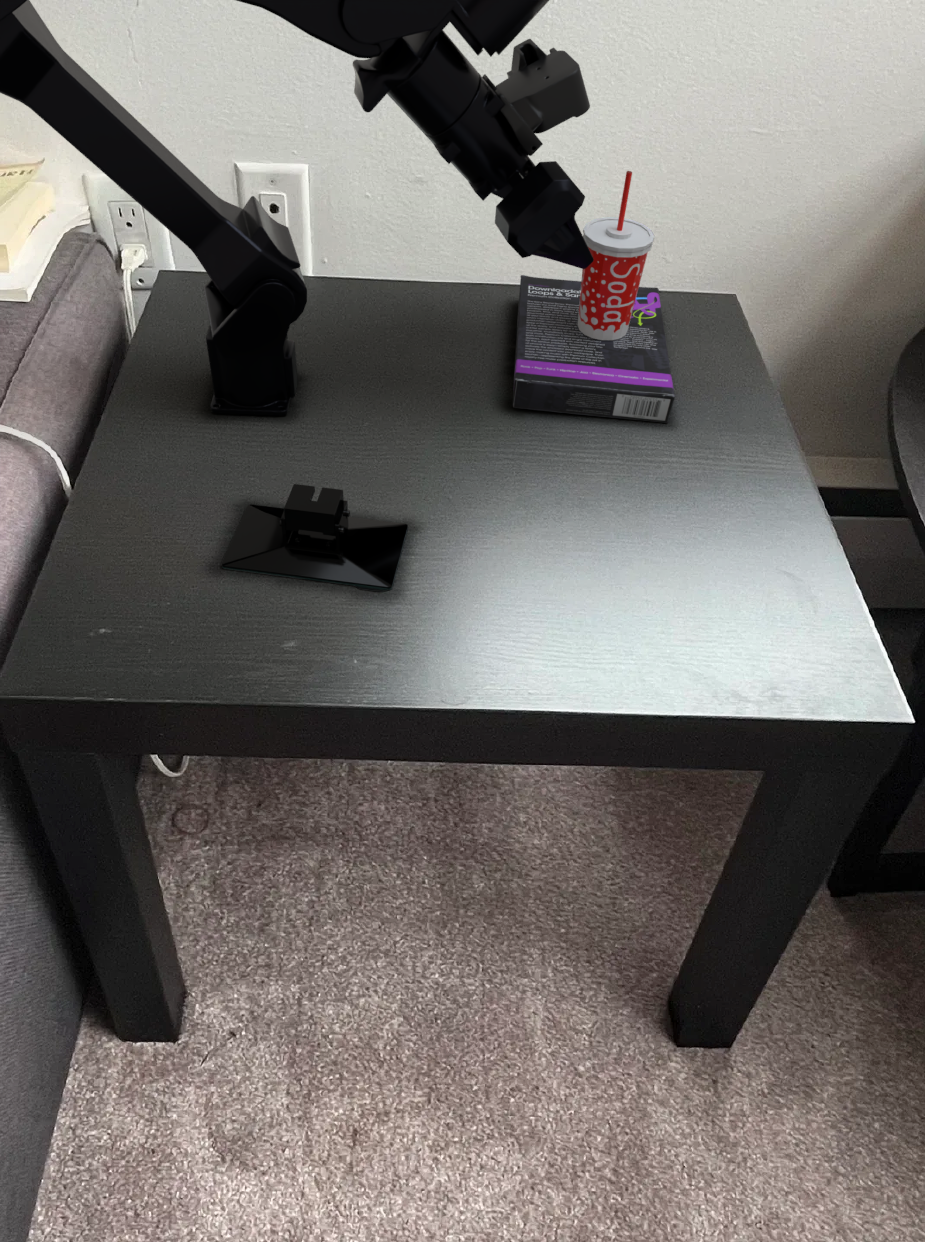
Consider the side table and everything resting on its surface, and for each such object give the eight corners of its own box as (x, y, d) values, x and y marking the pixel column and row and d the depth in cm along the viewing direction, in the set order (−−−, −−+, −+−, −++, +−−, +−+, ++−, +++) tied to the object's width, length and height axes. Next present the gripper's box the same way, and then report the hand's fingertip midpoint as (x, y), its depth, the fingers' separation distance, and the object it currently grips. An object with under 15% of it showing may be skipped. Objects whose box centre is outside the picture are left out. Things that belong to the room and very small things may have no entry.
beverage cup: (568, 341, 88) (591, 183, 78) (570, 307, 93) (592, 154, 82) (636, 348, 88) (668, 191, 78) (635, 315, 92) (665, 161, 82)
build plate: (408, 528, 74) (409, 479, 71) (390, 594, 69) (391, 545, 66) (248, 507, 75) (242, 457, 72) (219, 571, 70) (211, 521, 67)
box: (667, 429, 86) (654, 315, 99) (676, 395, 83) (662, 282, 97) (509, 413, 86) (517, 301, 99) (513, 379, 84) (521, 268, 97)
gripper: (576, 57, 64) (692, 216, 74) (494, -20, 76) (604, 125, 86) (453, 186, 68) (579, 319, 78) (394, 92, 80) (510, 218, 90)
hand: (570, 239), depth 83 cm, fingers open, 9 cm apart
